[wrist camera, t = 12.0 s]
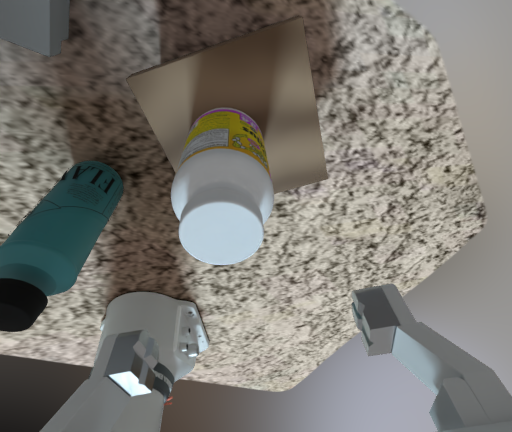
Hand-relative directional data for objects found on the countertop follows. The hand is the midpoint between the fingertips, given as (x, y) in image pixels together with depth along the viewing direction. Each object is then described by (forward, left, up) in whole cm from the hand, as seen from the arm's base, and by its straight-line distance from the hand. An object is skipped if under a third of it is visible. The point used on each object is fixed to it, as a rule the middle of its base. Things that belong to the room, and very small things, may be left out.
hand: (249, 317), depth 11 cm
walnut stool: (0, 0, -26) cm, 26 cm away
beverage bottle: (-3, +19, -27) cm, 33 cm away
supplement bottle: (0, +1, -19) cm, 19 cm away
